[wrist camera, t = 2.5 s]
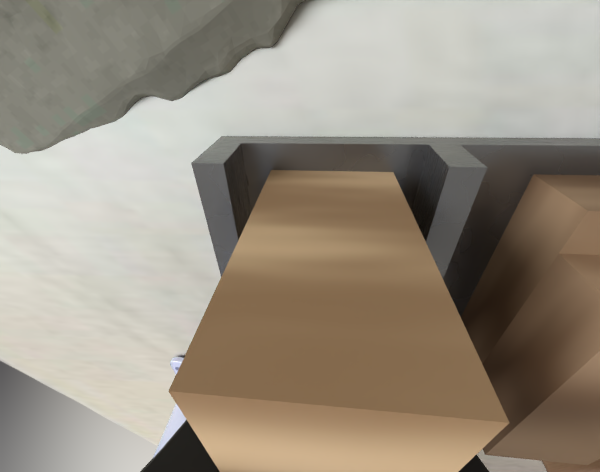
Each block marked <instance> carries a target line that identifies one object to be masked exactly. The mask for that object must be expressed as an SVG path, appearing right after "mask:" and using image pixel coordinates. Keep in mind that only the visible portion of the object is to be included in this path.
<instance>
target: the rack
mask: <svg viewBox="0 0 600 472" xmlns="http://www.w3.org/2000/svg"><path fill="white" fill-rule="evenodd" d="M192 167H193V171H194V175H195V178H196V182H197V186H198V190H199V194H200V197H201V201H202V205H203V209H204V213H205V216H206V220H207V224H208V228H209V232H210V235H211V239H212V243H213V247H214V251H215V254H216V258H217V262H218V266H219V270H220V274H221V277H222V275H223V273H224V271H225V268H226V266H227V264H228V262H229V260H230V258H231V255H232V253H233V251H234V249H235V247H236V245H237V242H238V240H239V238H240V236H241V234H242V232H243V230H244V227H245V225H246V223H247V221H248V219H249V217H250V214H251V212H252V210H253V208H254V206H255V204H256V201H257V199H258V197H259V195H260V193H261V191H262V189H263V186H264V184H265V182H266V180H267V178H268V176H269V173H270V171H271V170H299V171H359V172H393V173H394V175H395V177H396V179H397V181H398V183H399V185H400V188H401V190H402V192H403V194H404V196H405V198H406V201H407V203H408V205H409V207H410V209H411V211H412V214H413V216H414V218H415V220H416V222H417V224H418V226H419V229H420V231H421V233H422V235H423V237H424V239H425V242H426V244H427V246H428V248H429V250H430V252H431V255H432V257H433V259H434V261H435V263H436V265H437V267H438V270H439V272H440V274H441V276H442V278H443V280H444V283H445V285H446V287H447V289H448V291H449V293H450V296H451V298H452V300H453V302H454V304H455V306H456V308H457V311H458V313H459V315H460V317H461V316H462V314H463V312H464V310H465V308H466V306H467V304H468V302H469V300H470V298H471V296H472V294H473V292H474V290H475V288H476V286H477V284H478V282H479V280H480V278H481V276H482V274H483V272H484V270H485V269H486V267H487V265H488V263H489V261H490V259H491V257H492V255H493V253H494V251H495V249H496V247H497V245H498V243H499V241H500V239H501V237H502V235H503V233H504V231H505V229H506V227H507V225H508V223H509V221H510V219H511V217H512V216H513V214H514V212H515V210H516V208H517V206H518V204H519V202H520V200H521V198H522V196H523V194H524V192H525V190H526V188H527V186H528V184H529V182H530V180H531V178H532V176H533V174H541V175H600V139H582V138H401V137H220V138H219V139H218V140H217V141H216V142H215V143H214V144H213V145H211V146H210V147H209V148H208V149H207V150H206V151H205V152H204V153H202V154H201V155H200V156H199V157H198V158H197V159H196V160H194V161H193V162H192Z"/></svg>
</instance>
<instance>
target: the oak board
mask: <svg viewBox="0 0 600 472" xmlns="http://www.w3.org/2000/svg"><path fill="white" fill-rule="evenodd" d="M169 393H170V394H171V396H172V397H173V399H174V400H175V402H176V404H177V405H178V407H179V408H180V410H181V411H182V413H183V415H184V416H185V418H186V419H187V421H188V422H189V424H190V426H191V427H192V429H193V430H194V432H195V433H196V435H197V437H198V438H199V440H200V441H201V443H202V444H203V446H204V448H205V449H206V451H207V452H208V454H209V455H210V457H211V459H212V460H213V462H214V463H215V465H216V466H217V468H218V470H219V471H220V472H458V471H460V470H461V469H462V468H463V467H464V466H465V465H466V464H467V463H468V462H469V461H470V460H471V459H472V458H473V457H474V456H475V455H476V454H477V453H478V452H479V451H480V450H482V449H483V448H484V447H485V446H486V445H487V444H488V443H489V442H490V441H491V440H492V439H493V438H494V437H495V436H496V435H497V434H498V433H499V432H500V431H501V430H503V429H504V428H505V427H506V426H507V425H508V424H509V421H508V418H507V416H506V414H505V412H504V410H503V408H502V406H501V403H500V401H499V399H498V397H497V395H496V393H495V390H494V388H493V386H492V384H491V382H490V380H489V377H488V375H487V373H486V371H485V369H484V367H483V365H482V362H481V360H480V358H479V356H478V354H477V352H476V349H475V347H474V345H473V343H472V341H471V339H470V337H469V334H468V332H467V330H466V328H465V326H464V324H463V321H462V319H461V317H460V315H459V313H458V311H457V308H456V306H455V304H454V302H453V300H452V298H451V296H450V293H449V291H448V289H447V287H446V285H445V283H444V280H443V278H442V276H441V274H440V272H439V270H438V267H437V265H436V263H435V261H434V259H433V257H432V255H431V252H430V250H429V248H428V246H427V244H426V242H425V239H424V237H423V235H422V233H421V231H420V229H419V226H418V224H417V222H416V220H415V218H414V216H413V214H412V211H411V209H410V207H409V205H408V203H407V201H406V198H405V196H404V194H403V192H402V190H401V188H400V185H399V183H398V181H397V179H396V177H395V175H394V173H393V172H359V171H299V170H271V171H270V173H269V176H268V178H267V180H266V182H265V184H264V186H263V189H262V191H261V193H260V195H259V197H258V199H257V201H256V204H255V206H254V208H253V210H252V212H251V214H250V217H249V219H248V221H247V223H246V225H245V227H244V230H243V232H242V234H241V236H240V238H239V240H238V242H237V245H236V247H235V249H234V251H233V253H232V255H231V258H230V260H229V262H228V264H227V266H226V268H225V271H224V273H223V275H222V277H221V279H220V281H219V283H218V286H217V288H216V290H215V292H214V294H213V296H212V299H211V301H210V303H209V305H208V307H207V309H206V312H205V314H204V316H203V318H202V320H201V322H200V324H199V327H198V329H197V331H196V333H195V335H194V337H193V340H192V342H191V344H190V346H189V348H188V350H187V353H186V355H185V357H184V359H183V361H182V363H181V365H180V368H179V370H178V372H177V374H176V376H175V378H174V381H173V383H172V385H171V387H170V389H169Z"/></svg>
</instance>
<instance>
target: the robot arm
mask: <svg viewBox="0 0 600 472" xmlns="http://www.w3.org/2000/svg"><path fill="white" fill-rule="evenodd" d="M183 359H184V358H182V357H174V358H172V360H171V362H170V365H171V367H172V368H173V370H174V372H175V374H177V372H178V370H179V368H180V365H181V363H182V361H183ZM141 472H220V471H219V470H218V468H217V466H216V465H215V463H214V462H213V460H212V459H211V457H210V455H209V454H208V452H207V451H206V449H205V448H204V446H203V444H202V443H201V441H200V440H199V438H198V437H197V435H196V433H195V432H194V430H193V429H192V427H191V426H190V424H189V422H188V421H187V419H186V418H185V416H184V415H183V413H182V411H181V410H180V408H179V407H178V405H177V404H176V405H175V407H174V410H173V412H172V414H171V417H170V419H169V421H168V424H167V426H166V428H165V431H164V433H163V435H162V438H161V440H160V442H159V445H158V447H157V450H156V452H155V454H154V456H153V459H152V460H151V461H150V462H149V463H148V464H147V465H146V467H144V468H143V470H142V471H141ZM458 472H489V471H488V470H487V468H486V467H485V466H484V464H483V463H482V462H481V460H480V459H479V458H478V456H477V455H475V456H474V457H473V458H472V459H471V460H470V461H469V462H468V463H467V464H466V465H465V466H464V467H463V468H462V469H461V470H460V471H458Z"/></svg>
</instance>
